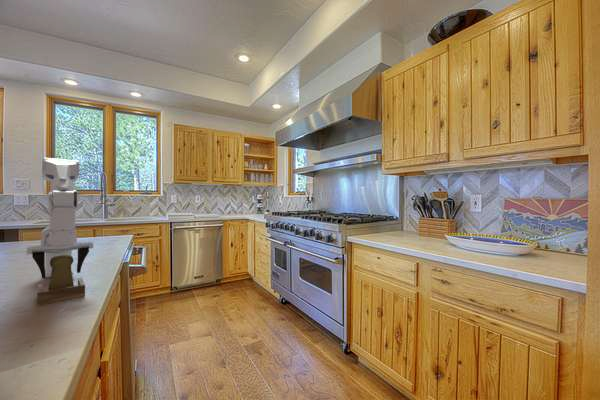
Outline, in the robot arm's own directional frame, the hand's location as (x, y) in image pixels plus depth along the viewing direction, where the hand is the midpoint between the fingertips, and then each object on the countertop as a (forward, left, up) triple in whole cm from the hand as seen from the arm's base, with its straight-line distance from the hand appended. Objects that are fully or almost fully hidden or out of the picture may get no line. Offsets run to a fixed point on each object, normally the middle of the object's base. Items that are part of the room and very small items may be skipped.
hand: (61, 274), depth 76 cm
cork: (0, 0, -6) cm, 6 cm away
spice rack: (+1, 0, -6) cm, 6 cm away
